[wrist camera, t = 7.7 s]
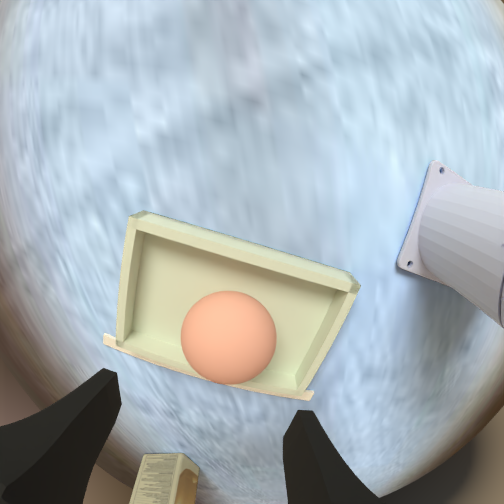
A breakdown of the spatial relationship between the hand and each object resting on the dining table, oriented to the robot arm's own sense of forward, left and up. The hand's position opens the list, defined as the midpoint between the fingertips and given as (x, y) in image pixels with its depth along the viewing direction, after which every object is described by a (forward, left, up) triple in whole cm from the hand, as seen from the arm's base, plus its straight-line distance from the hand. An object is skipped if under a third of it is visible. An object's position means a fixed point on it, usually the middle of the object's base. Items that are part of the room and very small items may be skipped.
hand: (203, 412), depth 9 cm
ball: (-1, 0, -6) cm, 6 cm away
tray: (0, 0, -9) cm, 9 cm away
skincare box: (+1, +25, -10) cm, 27 cm away
